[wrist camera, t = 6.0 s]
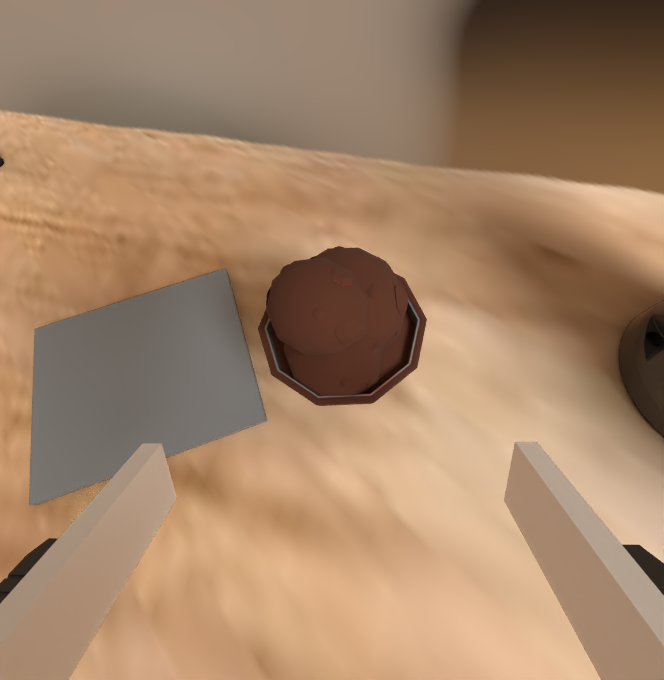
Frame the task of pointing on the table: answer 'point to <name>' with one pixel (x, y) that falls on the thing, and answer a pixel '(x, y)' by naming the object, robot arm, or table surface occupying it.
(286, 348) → the ice cream bowl
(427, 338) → the table surface
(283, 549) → the table surface
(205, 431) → the grey mat
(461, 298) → the table surface
